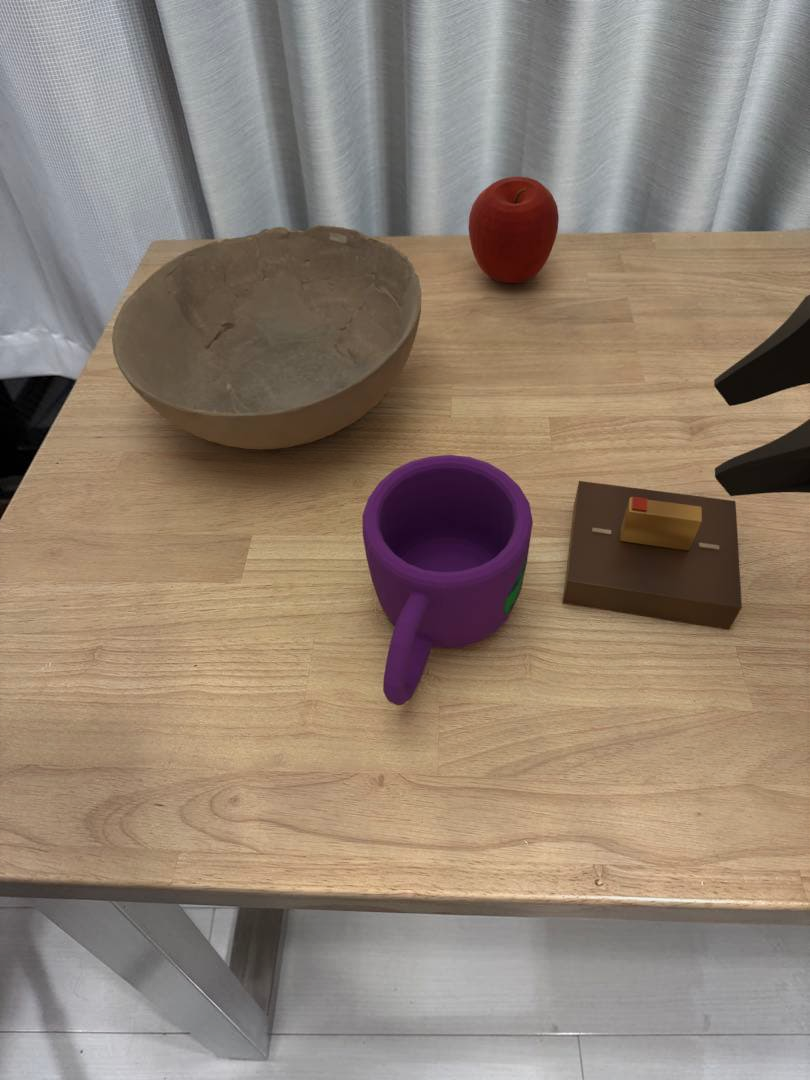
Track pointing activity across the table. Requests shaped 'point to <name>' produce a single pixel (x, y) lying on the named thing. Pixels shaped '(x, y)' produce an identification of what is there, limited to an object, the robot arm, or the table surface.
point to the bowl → (271, 334)
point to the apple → (513, 229)
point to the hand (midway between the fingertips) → (722, 435)
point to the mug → (443, 558)
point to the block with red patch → (660, 523)
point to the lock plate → (653, 560)
